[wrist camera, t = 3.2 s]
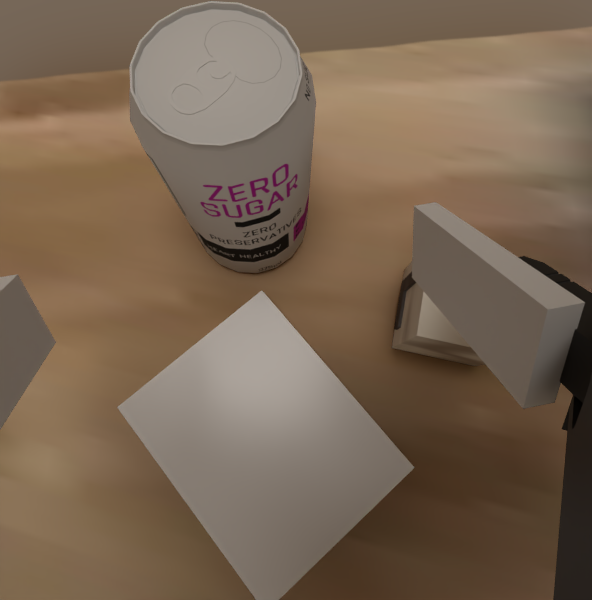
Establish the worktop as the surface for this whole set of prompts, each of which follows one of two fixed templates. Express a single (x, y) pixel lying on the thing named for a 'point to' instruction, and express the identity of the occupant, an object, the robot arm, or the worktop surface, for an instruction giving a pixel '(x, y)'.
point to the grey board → (265, 446)
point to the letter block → (427, 327)
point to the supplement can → (228, 128)
